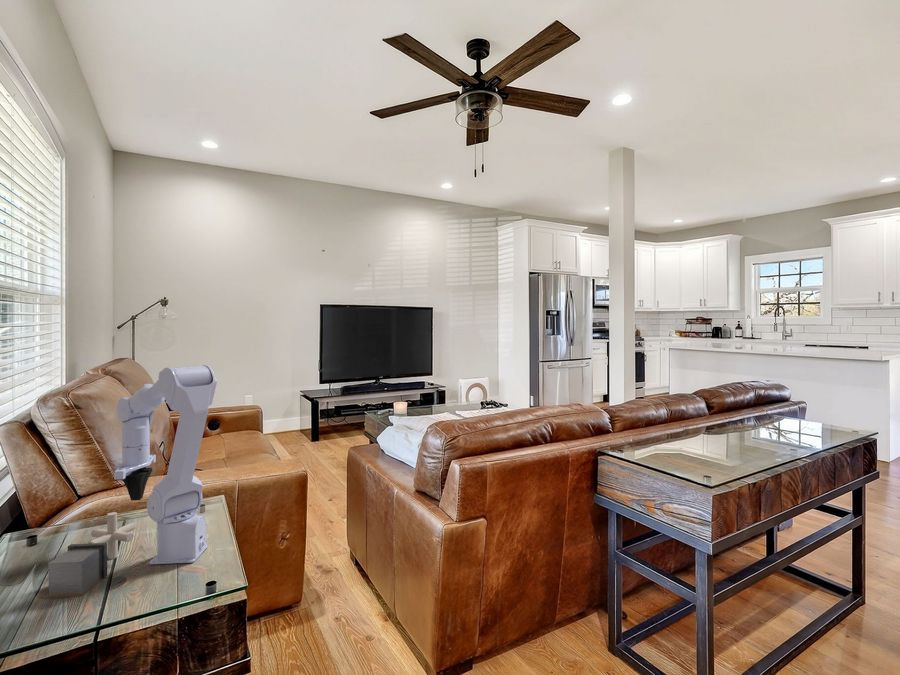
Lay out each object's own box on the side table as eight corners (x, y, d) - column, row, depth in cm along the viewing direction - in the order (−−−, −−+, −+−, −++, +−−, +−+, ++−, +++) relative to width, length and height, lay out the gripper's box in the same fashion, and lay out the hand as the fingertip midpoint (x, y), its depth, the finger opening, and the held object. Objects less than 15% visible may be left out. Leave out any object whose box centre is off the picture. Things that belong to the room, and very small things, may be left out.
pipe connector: (109, 571, 101) (108, 525, 101) (73, 565, 104) (72, 520, 103) (149, 549, 111) (149, 507, 111) (115, 544, 113) (114, 503, 113)
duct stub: (71, 578, 98) (71, 544, 98) (107, 576, 99) (106, 542, 99) (46, 597, 91) (45, 560, 91) (84, 595, 92) (84, 558, 92)
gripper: (135, 438, 124) (136, 489, 124) (100, 452, 110) (100, 511, 110) (163, 437, 125) (164, 489, 125) (132, 452, 110) (132, 510, 111)
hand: (136, 499), depth 117 cm, fingers closed
